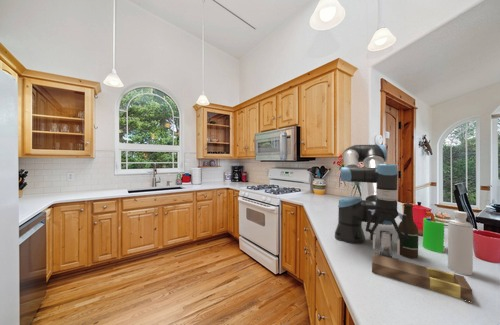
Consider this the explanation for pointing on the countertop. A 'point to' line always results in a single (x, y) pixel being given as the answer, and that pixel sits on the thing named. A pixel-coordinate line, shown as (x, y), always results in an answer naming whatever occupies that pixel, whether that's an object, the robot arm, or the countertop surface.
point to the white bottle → (460, 244)
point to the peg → (386, 244)
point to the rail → (423, 277)
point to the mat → (392, 257)
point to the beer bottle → (409, 234)
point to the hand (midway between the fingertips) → (385, 250)
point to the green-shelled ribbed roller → (433, 234)
